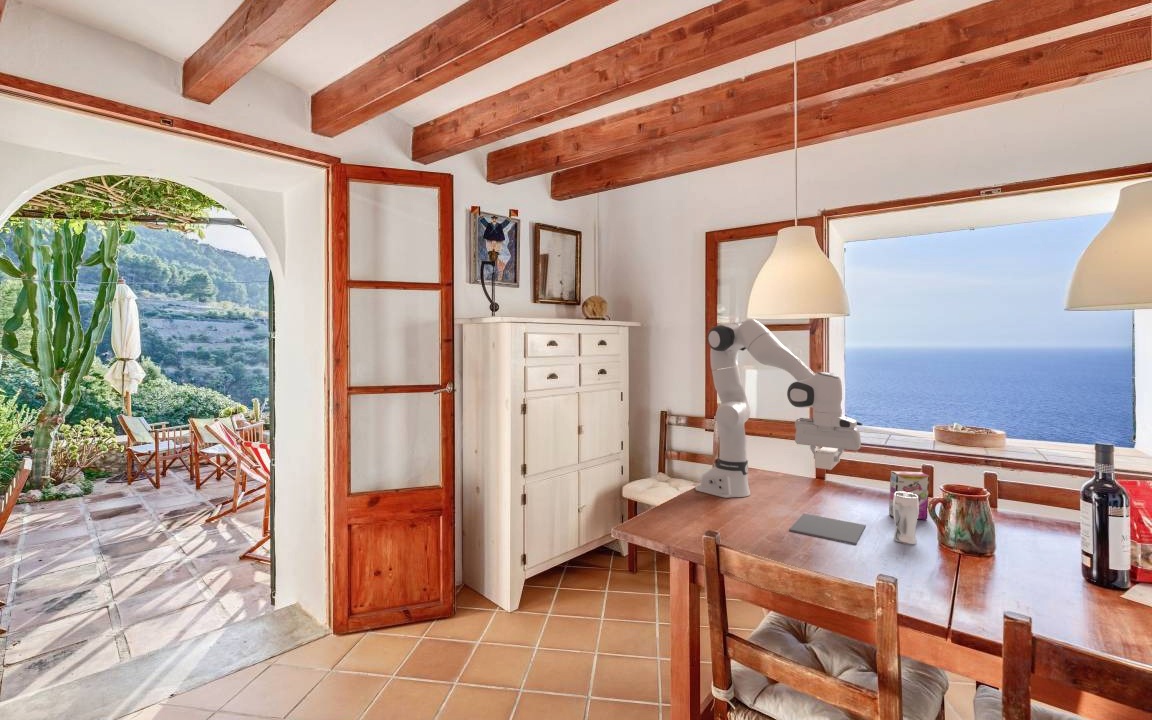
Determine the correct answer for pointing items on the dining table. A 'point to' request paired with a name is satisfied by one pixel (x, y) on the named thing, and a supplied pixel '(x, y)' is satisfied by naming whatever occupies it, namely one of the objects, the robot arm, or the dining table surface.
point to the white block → (826, 458)
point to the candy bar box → (910, 489)
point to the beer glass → (905, 517)
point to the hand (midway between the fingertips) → (826, 460)
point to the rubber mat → (828, 528)
